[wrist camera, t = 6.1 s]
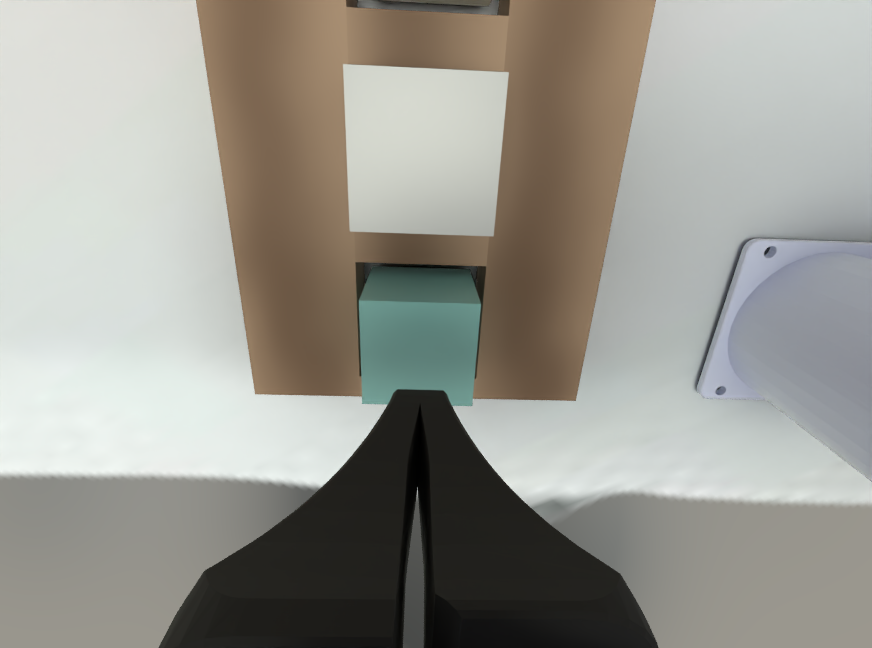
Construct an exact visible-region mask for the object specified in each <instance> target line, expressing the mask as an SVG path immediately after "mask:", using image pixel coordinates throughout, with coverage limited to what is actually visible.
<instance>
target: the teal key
mask: <svg viewBox="0 0 872 648" xmlns="http://www.w3.org/2000/svg"><path fill="white" fill-rule="evenodd" d="M480 310H481V303H480V300H479V297H478V294H477V291H476V288H475V285H474V282H473V279H472V276H471V273H470V269H443V268H412V267H380V266H372V269H371V271H370V274H369V276H368V279H367V281H366V284H365V286H364V289H363V291H362V294H361V296H360V299H359V320H360V349H361V379H362V404H388V403H389V401H390V399H391V397H392V395H393V393H394V392H395V391H396V390H397V389H412V390H444V391H445V392H446V394H447V395H448V398H449V401H450V403H451V405H452V406H472V401H473V390H474V378H475V367H476V355H477V344H478V333H479V321H480Z"/></svg>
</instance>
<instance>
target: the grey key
mask: <svg viewBox="0 0 872 648" xmlns="http://www.w3.org/2000/svg"><path fill="white" fill-rule="evenodd" d="M343 76H344V101H345V126H346V151H347V176H348V201H349V226H350V231H351V232H380V233H409V234H437V235H466V236H494V226H495V216H496V205H497V194H498V183H499V173H500V162H501V151H502V141H503V130H504V119H505V109H506V98H507V87H508V77H509V72H493V71H473V70H453V69H432V68H412V67H392V66H372V65H351V64H343Z"/></svg>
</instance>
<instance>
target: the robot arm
mask: <svg viewBox="0 0 872 648" xmlns="http://www.w3.org/2000/svg"><path fill="white" fill-rule="evenodd" d="M768 247H770V250H769V252H768V253H767V254H766V255H764V251H765V250H766V249H767V248H768ZM718 387H721V388H720V389H719V390H717V391H716V389H717V388H718ZM697 392H698V393H699V394H700V395H701V396H702V397H704V398H707V399H752V400H767V401H768V402H770V403H771V404H772V405H774V406H775V407H776V408H777V409H779V410H780V411H781V412H783V413H784V414H785V415H786V416H788V417H789V418H790V419H792V420H793V421H794V422H796V423H797V424H798V425H799V426H801V427H802V428H803V429H805V430H806V431H807V432H808V433H810V434H811V435H812V436H814V437H815V438H816V439H817V440H819V441H820V442H821V443H823V444H824V445H825V446H826V447H828V448H829V449H830V450H832V451H833V452H834V453H835V454H837V455H838V456H839V457H841V458H842V459H843V460H844V461H846V462H847V463H848V464H850V465H851V466H852V467H854V468H855V469H856V470H857V471H859V472H860V473H861V474H863V475H864V476H865V477H866V478H868V479H869V480H870V481H872V242H848V241H820V240H791V239H763V238H756V239H752V240H750V241H748V242H747V243H746V244H745V245H744V247H743V249H742V252H741V255H740V258H739V261H738V264H737V267H736V270H735V273H734V276H733V279H732V282H731V285H730V288H729V291H728V294H727V297H726V300H725V303H724V306H723V309H722V312H721V316H720V319H719V322H718V325H717V328H716V331H715V334H714V337H713V340H712V343H711V346H710V349H709V352H708V355H707V358H706V361H705V364H704V367H703V370H702V373H701V376H700V379H699V382H698V385H697ZM417 487H418V498H419V511H420V523H421V537H422V551H423V564H424V648H658V645H657V642H656V640H655V638H654V635H653V633H652V631H651V629H650V626H649V624H648V622H647V620H646V618H645V616H644V614H643V612H642V610H641V608H640V607H639V605H638V603H637V602H636V599H635V598H634V596H633V594H632V593H631V591H630V589H629V588H628V586H627V585H626V583H625V581H624V579H623V578H622V576H621V575H620V573H618V572H617V571H615V570H614V569H612V568H611V567H609V566H607V565H606V564H605V563H603V562H602V561H600V560H599V559H597V558H595V557H594V556H592V555H591V554H589V553H588V552H586V551H585V550H583V549H582V548H580V547H579V546H577V545H576V544H575V543H573V542H572V541H571V540H569V539H568V538H567V537H565V536H564V535H563V534H561V533H560V532H559V531H558V530H556V529H555V528H554V527H552V526H551V525H550V524H549V523H547V522H546V521H545V520H544V519H543V518H542V517H540V516H539V515H538V514H537V513H536V512H535V511H534V510H533V509H532V508H530V507H529V506H528V505H527V504H526V503H525V502H524V501H523V500H522V499H521V498H520V497H519V496H518V495H517V494H516V493H515V492H514V491H513V490H512V489H511V488H510V487H509V486H508V485H507V484H506V483H505V482H504V481H503V480H502V478H501V477H500V476H499V475H498V474H497V473H496V472H495V470H494V469H493V468H492V467H491V465H490V464H489V463H488V462H487V460H486V459H485V458H484V456H483V455H482V454H481V452H480V451H479V450H478V448H477V447H476V445H475V444H474V443H473V441H472V440H471V438H470V436H469V435H468V433H467V432H466V430H465V429H464V427H463V425H462V424H461V422H460V420H459V419H458V417H457V415H456V413H455V411H454V409H453V407H452V405H451V403H450V401H449V398H448V395H447V394H446V392H445V391H444V390H412V389H397V390H396V391H395V392H394V393H393V395H392V397H391V399H390V401H389V403H388V405H387V407H386V409H385V410H384V412H383V414H382V415H381V417H380V418H379V420H378V421H377V423H376V424H375V426H374V427H373V429H372V430H371V432H370V433H369V435H368V436H367V437H366V439H365V440H364V441H363V442H362V444H361V445H360V446H359V447H358V449H357V450H356V451H355V452H354V454H353V455H352V456H351V457H350V458H349V460H348V461H347V462H346V463H345V464H344V465H343V466H342V467H341V468H340V470H339V471H338V472H337V473H336V474H335V475H334V476H333V477H332V478H331V479H330V480H329V481H328V482H327V483H326V484H325V485H324V486H323V487H321V488H320V489H319V490H318V491H317V492H316V493H315V494H314V495H313V496H312V497H311V498H310V499H309V500H307V501H306V502H305V503H304V504H303V505H301V506H300V507H299V508H298V509H297V510H295V511H294V512H293V513H291V514H290V515H289V516H287V517H286V518H285V519H283V520H282V521H281V522H280V523H278V524H277V525H275V526H274V527H273V528H272V529H270V530H269V531H268V532H266V533H265V534H263V535H262V536H260V537H259V538H257V539H256V540H254V541H253V542H251V543H250V544H248V545H246V546H245V547H243V548H242V549H240V550H238V551H237V552H235V553H233V554H232V555H230V556H229V557H227V558H225V559H224V560H222V561H220V562H219V563H217V564H216V565H214V566H212V567H210V568H209V569H207V570H205V571H204V572H203V574H202V575H201V577H200V578H199V580H198V582H197V583H196V585H195V586H194V588H193V589H192V591H191V592H190V594H189V595H188V597H187V598H186V599H185V601H184V603H183V604H182V606H181V607H180V609H179V611H178V612H177V614H176V616H175V617H174V619H173V621H172V623H171V625H170V627H169V629H168V631H167V633H166V635H165V636H164V638H163V640H162V642H161V644H160V646H159V648H403V629H404V604H405V583H406V573H407V563H408V556H409V548H410V540H411V533H412V525H413V518H414V510H415V502H416V495H417Z"/></svg>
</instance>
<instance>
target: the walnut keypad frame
mask: <svg viewBox="0 0 872 648" xmlns="http://www.w3.org/2000/svg"><path fill="white" fill-rule="evenodd" d="M655 2H656V0H499V8H498V15H482V14H463V13H445V12H427V11H408V10H390V9H371V8H357V0H196V4H197V11H198V17H199V24H200V30H201V37H202V44H203V50H204V57H205V64H206V70H207V77H208V84H209V90H210V97H211V104H212V110H213V117H214V123H215V130H216V137H217V143H218V150H219V157H220V163H221V170H222V177H223V183H224V190H225V197H226V203H227V210H228V217H229V223H230V230H231V236H232V243H233V250H234V256H235V263H236V270H237V276H238V283H239V290H240V296H241V303H242V310H243V316H244V323H245V329H246V336H247V343H248V349H249V356H250V363H251V369H252V376H253V383H254V389H255V394H272V395H321V396H362V379H361V349H360V320H359V299H360V296H361V294H362V291H363V289H364V286H365V270H364V262H366V263H398V264H429V265H460V266H478V268H477V280H476V291H477V294H478V297H479V300H480V303H481V310H480V321H479V333H478V344H477V355H476V367H475V378H474V390H473V399H518V400H567V401H576V396H577V391H578V386H579V381H580V376H581V371H582V366H583V361H584V356H585V351H586V346H587V341H588V336H589V331H590V326H591V321H592V316H593V311H594V306H595V301H596V296H597V291H598V286H599V281H600V277H601V272H602V267H603V262H604V257H605V252H606V247H607V242H608V237H609V232H610V227H611V222H612V217H613V212H614V207H615V202H616V197H617V192H618V187H619V182H620V177H621V172H622V167H623V162H624V157H625V152H626V147H627V142H628V137H629V132H630V127H631V122H632V117H633V112H634V107H635V102H636V97H637V92H638V87H639V82H640V77H641V72H642V67H643V62H644V57H645V52H646V47H647V42H648V37H649V32H650V27H651V22H652V17H653V12H654V7H655ZM343 64H351V65H372V66H392V67H412V68H432V69H453V70H473V71H493V72H509V77H508V87H507V98H506V109H505V119H504V130H503V141H502V151H501V162H500V173H499V183H498V194H497V205H496V216H495V226H494V236H466V235H437V234H409V233H380V232H351V231H350V226H349V201H348V176H347V151H346V126H345V101H344V76H343Z"/></svg>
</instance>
